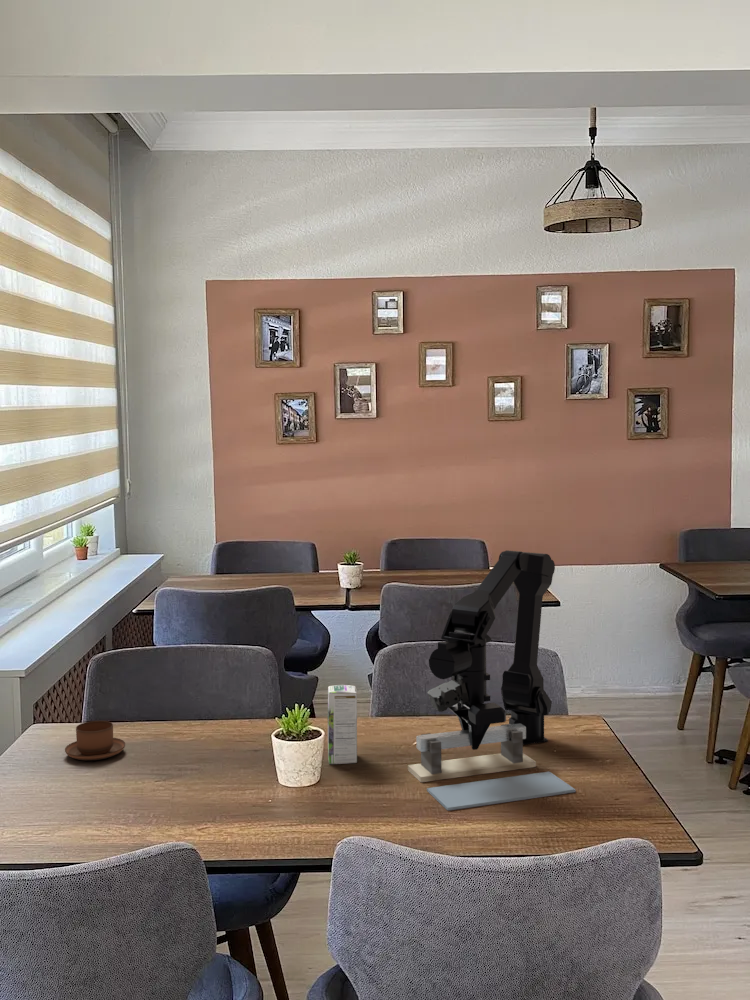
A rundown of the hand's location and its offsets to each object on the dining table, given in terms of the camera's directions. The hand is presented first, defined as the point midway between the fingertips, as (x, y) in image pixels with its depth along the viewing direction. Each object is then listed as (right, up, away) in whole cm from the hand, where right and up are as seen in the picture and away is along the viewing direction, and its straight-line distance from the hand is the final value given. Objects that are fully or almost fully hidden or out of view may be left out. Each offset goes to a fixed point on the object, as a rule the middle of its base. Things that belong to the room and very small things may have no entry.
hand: (471, 747), depth 198 cm
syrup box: (-25, -4, +7) cm, 26 cm away
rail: (0, +1, 0) cm, 1 cm away
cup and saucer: (-76, -5, +12) cm, 77 cm away
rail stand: (0, -4, 0) cm, 4 cm away
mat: (+4, -5, -12) cm, 14 cm away
